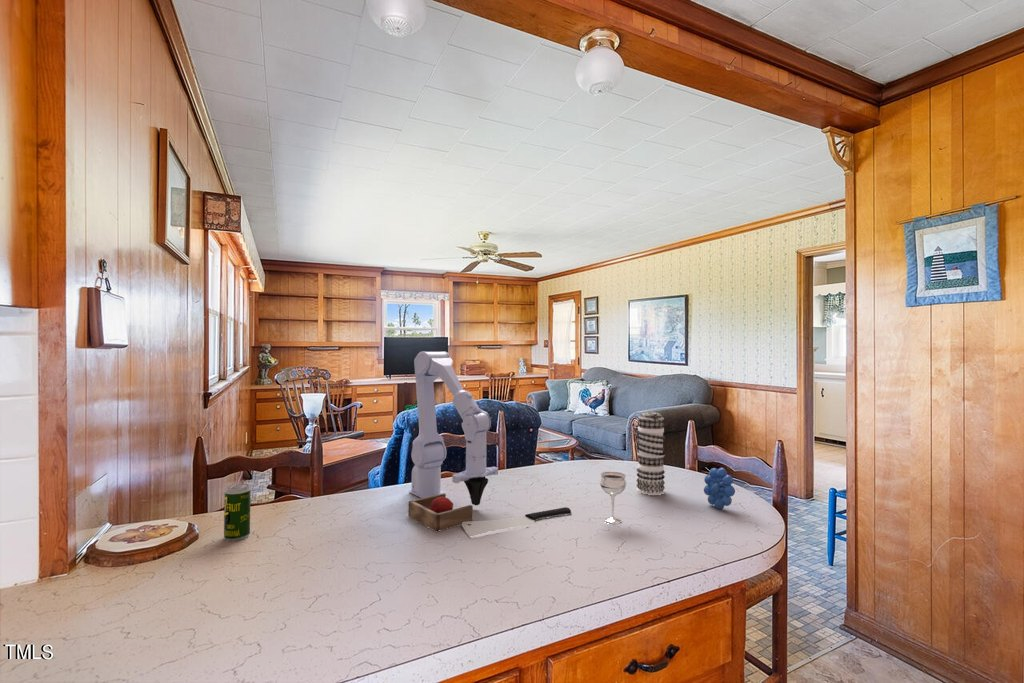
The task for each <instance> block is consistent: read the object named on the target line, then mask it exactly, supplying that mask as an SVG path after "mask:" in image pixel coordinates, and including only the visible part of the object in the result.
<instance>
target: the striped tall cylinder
mask: <svg viewBox="0 0 1024 683" xmlns="http://www.w3.org/2000/svg"><path fill="white" fill-rule="evenodd" d="M637 418H638V426H637V429H635V432H636V434H635V436H636V438H637V439H636V441H635V442H636V444H637V445H636V446H635V447H636V449H637V451H636V454H637V456H638V457H637V458H638V460H637V461H638V463H637V468H636V471H637V473H636V476H637V479H636V482H637V483H636V487H637V489H636V491H637V492H638V491H639V492H640V493H639V492H638V493H639V494H641V493H644V494H649V495H648V496H650V495H659V496H661V495H660V494H663V495H664V494H665V489H666V487H665V484H666V482H665V480H664V479H665V478H666V476H665V475H664V474H665V472H666V471H665V470H664V469H665V468H664V466H665V465H664V457H665V455H666V453H665V450H666V447H664V445H665V444H666V443H667V442H666V441H665V440H666V439H667V438H666V437H667V436H665V435H664V433H665V427H664V419H665V418H664V417H663V416H662V414H661V413H659V412H655V411H653V412H652V411H644V412H641V413H640V415H639V416H638V417H637ZM644 494H643V495H644Z"/></svg>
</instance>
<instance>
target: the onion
mask: <svg viewBox="0 0 1024 683" xmlns="http://www.w3.org/2000/svg"><path fill="white" fill-rule="evenodd" d="M429 509H430V510H432V511H434V512H436V513H442V512H445V511H449V510H453V509H454V503H453V502H452V500H450V499H449V498H448V497H446V496H445V497H443V496H441V497H438V498H436V499H434V500H433V501H432V503H431V505H430V506H429Z"/></svg>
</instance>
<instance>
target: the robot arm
mask: <svg viewBox="0 0 1024 683" xmlns="http://www.w3.org/2000/svg"><path fill="white" fill-rule="evenodd" d="M453 363H454V361H453V359H452V358H451V356H450V353H448V352H447V351H443V350H442V351H424V350H422V351H420V352H418V354H416V356H415V357H414V360H413V364H414V365H413V366H414V378H415V389H416V390H415V391H416V401H417V403H416V405H417V417H418V431H419V434H418V436H417V437H415V439H414V440H413V441H412V448H411V454H410V455H411V461H412V463H413V464H414V465H413V467H412V470H411V489H410V490H408V493H410V494H413V495H414V496H416V497H418V498H419V499H420V498H425V497H429V496H433V495H438V494H442V493H444V494H445V495H447V492H446V491H443V490H441V489H442V488H441V487H442V486H441V481H442V480H441V476H442V475H441V474H442V473H441V472H442V471H441V470H442V469H441V468H442V465H443V461H445V459H446V457H447V448H446V444H445V441H444V437H443V436H442V435H441V434H440V433H439V432H438V427H437V414H436V412H437V411H436V401H435V388H434V386H435V385H434V382H435V381H436V380H437V378H440V379H441V380H442V382H443V383H444V384H445V386H446V388H447V389H448V391H449V392H450V393H451V394H452V400H451V402H452V403H453V405H454V408H455V409H456V411H457V412H458V415H459V416H460V418H461V419H462V422H461V428H462V432H464V440H465V470H463V471H461V472H457V473H455V474H451V475H452V477H451V478H452V480H451V481H452V483H455V484H459V483H460V482H463V483H464V484H465V487H466V488H467V491H468V494H469V497H470V503H471V505H472V506H479V505H480V504H481V500H482V496H483V493H484V491H485V488H486V487H487V485H488V483H489V478H487V477H490V476H498V475H499V467H498V466H497V467H496V466H490V467H489V466H487V432H488V431H489V430H490V429H491V425H492V420H491V417H490V414H489V413H488V412H487V411H484V410H483V409H482V408H479V405H478V403H477V401H476V400H475V399H474V397H473V394H472V393H471V392H470V391H469V390H464V388H463V386H462V384H461V382H460V380H459V377H458V376H457V374H456V372H455V370H454V367H453V365H454V364H453Z"/></svg>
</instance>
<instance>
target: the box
mask: <svg viewBox="0 0 1024 683" xmlns="http://www.w3.org/2000/svg"><path fill="white" fill-rule="evenodd" d="M441 496H443V497H446V494H444V493H442V494H438V495H433V496H429V497H425V498H420V497H419V498H418V499H413V500H412V499H411V500H409V501H408V515H407V516H408V517H409V518H411V519H413V520H415V521H416V522H417V523H420V524H421V523H422V524H421V525H424V526H425V527H427V528H428V527H429V529H430V528H431V529H430V530H432V529H433V530H432V531H434V530H435V531H434V532H436V531H437V532H440V531H439V530H441V531H444V530H447V528H448V529H451V528H454V526H455V527H458V526H462V525H461V524H462V522H466V521H473V516H474V515H473V512H474V510H473V508H474V507H473V506H474V505H472V504H469V505H466V506H465V505H464V506H462V507H459V508H453V509H452V510H449V511H445V512H442V513H436V512H434V511H432V510H430V509H429V506H430V505H431V503H432V501H433V500H434V499H436V498H438V497H441ZM457 525H458V526H457ZM450 527H451V528H450ZM443 529H444V530H443Z"/></svg>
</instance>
